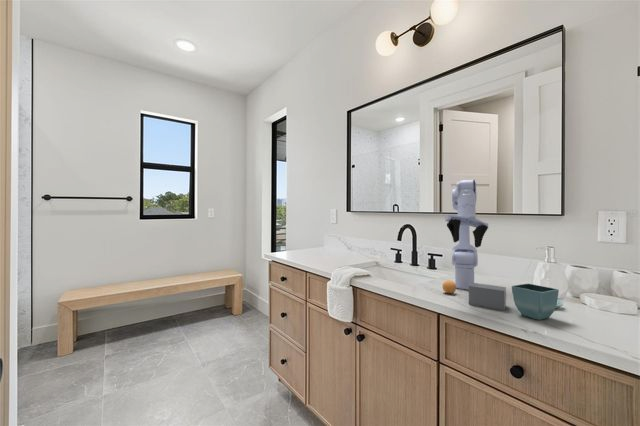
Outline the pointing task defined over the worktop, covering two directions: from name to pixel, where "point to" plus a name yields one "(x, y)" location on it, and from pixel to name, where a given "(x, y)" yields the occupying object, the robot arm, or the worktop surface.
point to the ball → (449, 287)
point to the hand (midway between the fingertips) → (467, 243)
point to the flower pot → (535, 300)
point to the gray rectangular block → (487, 296)
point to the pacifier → (559, 303)
